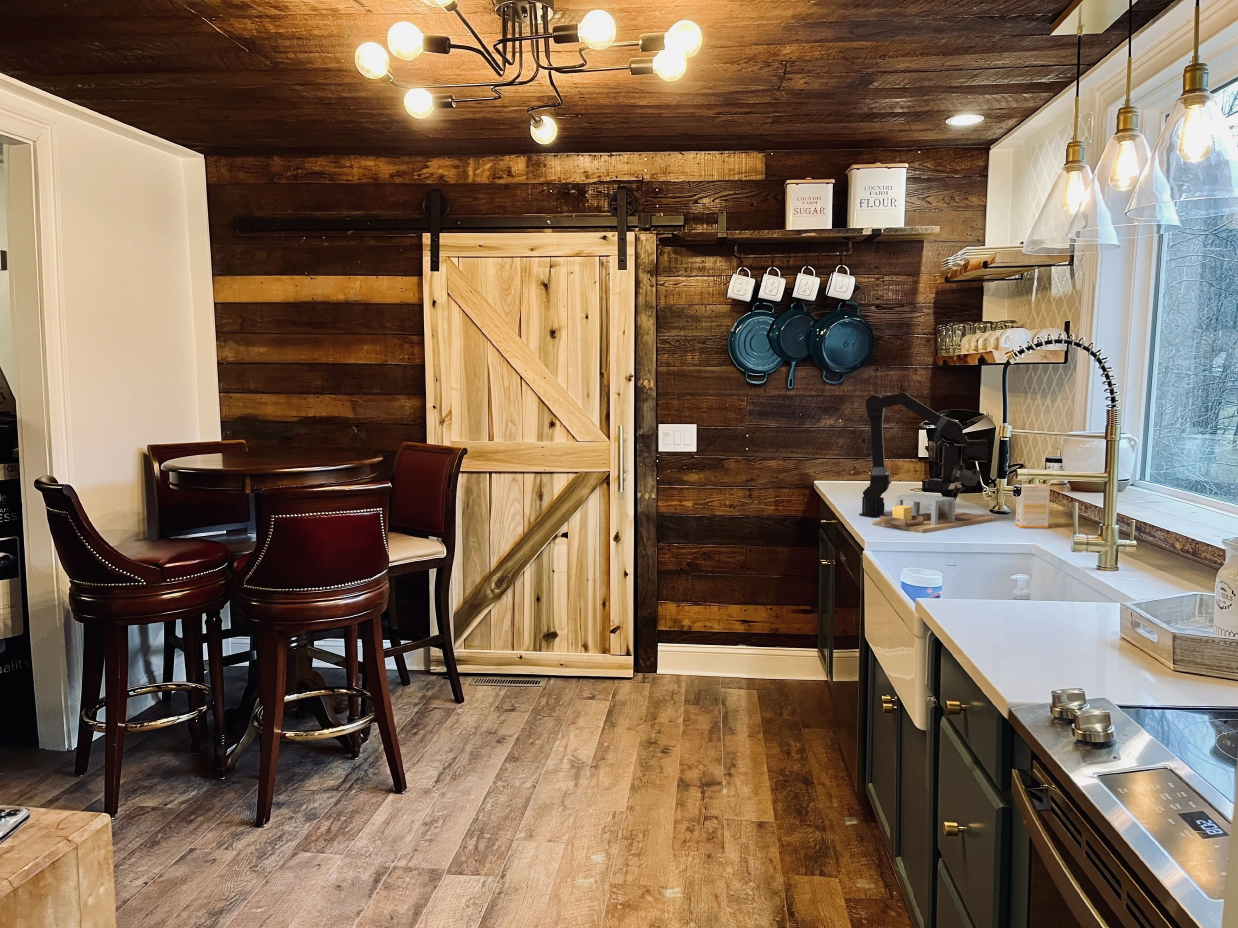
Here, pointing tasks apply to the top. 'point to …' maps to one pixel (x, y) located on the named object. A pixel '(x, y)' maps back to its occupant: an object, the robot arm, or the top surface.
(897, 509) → the ochre block
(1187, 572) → the top surface
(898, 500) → the grey small table
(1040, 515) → the supplement box
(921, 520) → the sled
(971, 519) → the base board
